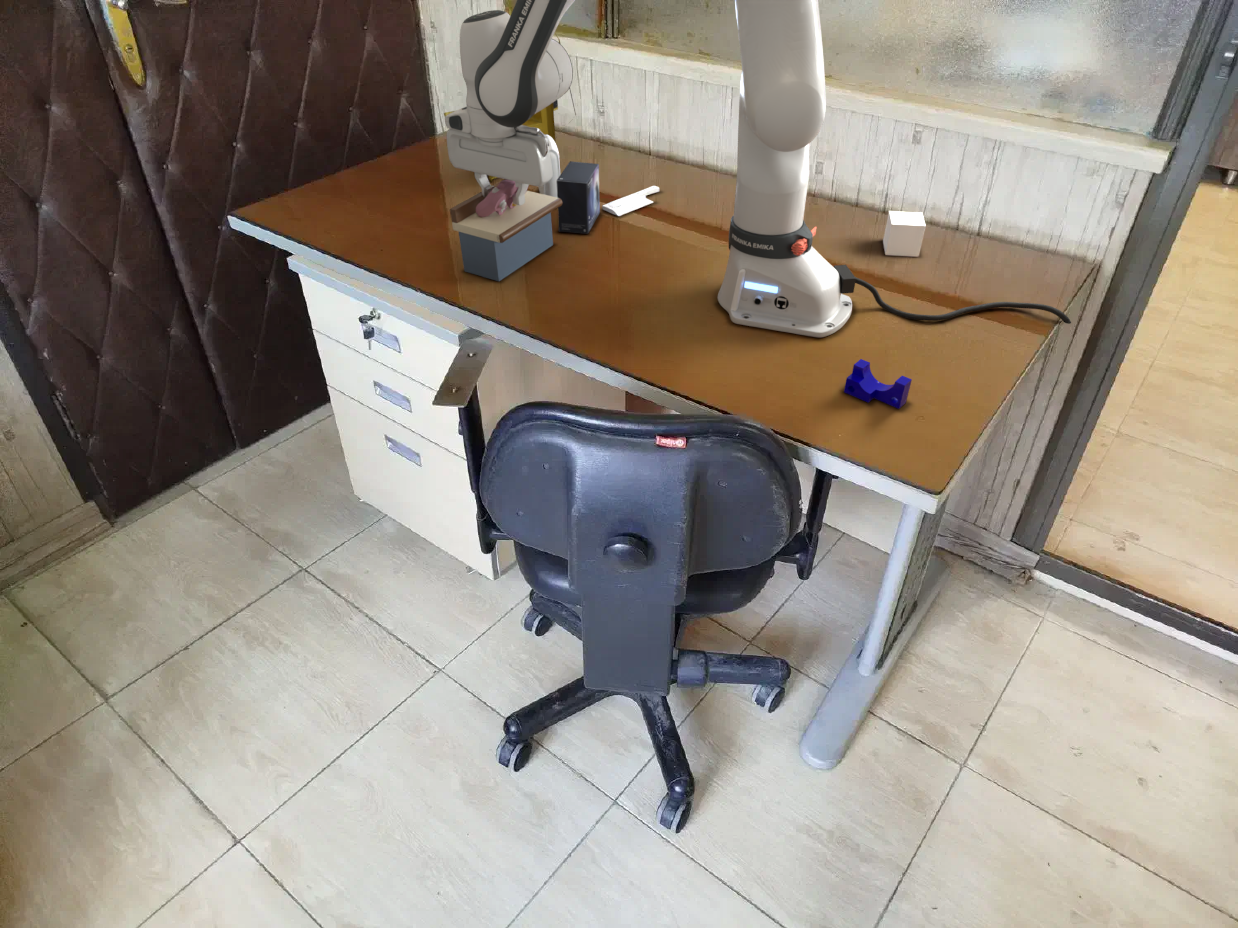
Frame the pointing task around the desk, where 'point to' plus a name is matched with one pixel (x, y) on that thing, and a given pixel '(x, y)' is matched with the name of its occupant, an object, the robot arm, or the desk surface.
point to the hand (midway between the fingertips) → (503, 200)
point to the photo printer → (551, 186)
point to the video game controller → (498, 199)
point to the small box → (578, 197)
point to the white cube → (904, 233)
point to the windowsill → (503, 234)
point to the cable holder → (876, 386)
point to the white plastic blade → (630, 202)
